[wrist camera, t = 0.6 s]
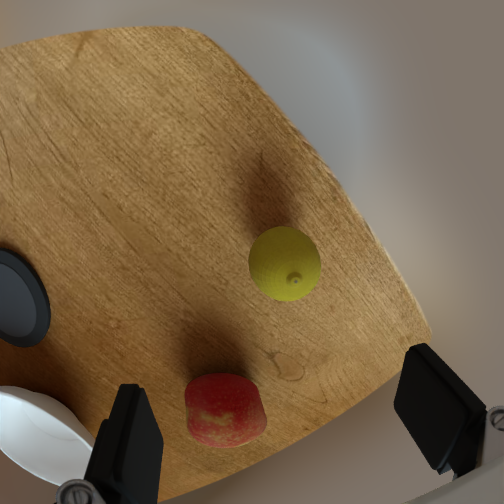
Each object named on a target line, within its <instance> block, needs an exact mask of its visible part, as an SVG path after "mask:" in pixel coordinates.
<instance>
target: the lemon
mask: <svg viewBox="0 0 504 504" xmlns="http://www.w3.org/2000/svg"><path fill="white" fill-rule="evenodd" d="M248 261H249V271H250V273H251V276H252V279H253V281H254V282H255V284H256V285H257V286H258V288H259V289H260V290H261V291H262V292H264V293H265V294H266V295H267V296H269V297H271V298H273V299H276V300H280V301H294V300H297V299H300V298H302V297H304V296H306V295H307V294H308V293H309V292H311V291H312V290H313V288H314V287H315V285H316V284H317V282H318V279H319V277H320V272H321V261H320V255H319V253H318V250H317V248H316V246H315V244H314V243H313V242H312V240H311V239H310V238H309V237H308V236H307V235H306V234H304V233H303V232H301V231H300V230H297V229H295V228H292V227H285V226H280V227H274V228H271V229H269V230H266V231H265V232H263V233H262V234H261V235H259V237H258V238H257V239H256V240H255V242H254V243H253V245H252V247H251V249H250V254H249V260H248Z"/></svg>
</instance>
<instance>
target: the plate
mask: <svg viewBox="0 0 504 504" xmlns="http://www.w3.org/2000/svg"><path fill="white" fill-rule="evenodd" d="M50 318H51V314H50V304H49V300H48V296H47V293H46V290H45V288H44V286H43V284H42V282H41V280H40V278H39V276H38V275H37V273H36V272H35V270H34V269H33V268H32V267H31V265H30V264H29V263H28V262H27V261H26V260H25V259H24V258H22V257H21V256H20V255H18V254H17V253H15V252H13V251H11V250H9V249H6V248H0V338H1V339H3V340H4V341H6V342H8V343H9V344H12V345H14V346H18V347H31V346H34V345H36V344H37V343H39V342H40V341H41V340H42V339H43V338H44V336H45V335H46V333H47V331H48V329H49V325H50Z"/></svg>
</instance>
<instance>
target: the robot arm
mask: <svg viewBox="0 0 504 504" xmlns="http://www.w3.org/2000/svg"><path fill="white" fill-rule="evenodd" d="M394 409H395V411H396V413H397V414H398V416H399V417H400V419H401V420H402V422H403V424H404V425H405V427H406V428H407V430H408V431H409V433H410V434H411V436H412V438H413V439H414V441H415V442H416V444H417V446H418V447H419V449H420V450H421V452H422V454H423V455H424V457H425V458H426V460H427V462H428V463H429V465H430V466H431V468H432V469H434V470H437V472H438V473H439V475H441V474H443V473H445V472H447V471H449V470H451V468H452V470H453V471H454V476H453V480H452V482H450V483H448V484H446V485H443V486H441V487H439V488H437V489H435V490H433V491H431V492H429V493H427V494H424V495H422V496H420V497H417V498H415V499H413V500H410V501H408V502H405V503H403V504H504V406H496V407H493V408H491V409H490V410H489V411H488V412H487V411H486V405H485V404H484V403H483V402H482V401H481V400H480V399H479V398H478V397H477V396H476V395H475V394H474V392H473V391H472V390H471V389H470V388H469V387H468V386H467V385H466V384H465V383H464V382H463V381H462V380H461V379H460V378H459V377H458V376H457V374H456V373H455V372H454V371H453V370H452V369H451V368H450V367H449V366H448V365H447V364H446V363H445V362H444V361H443V360H442V359H441V358H440V357H439V356H438V355H437V354H436V353H435V352H434V351H433V350H432V349H431V348H430V347H429V346H428V345H427V344H426V343H421V344H417V345H414V346H411V347H410V348H409V351H407V352H406V354H405V359H404V363H403V368H402V372H401V376H400V380H399V384H398V388H397V392H396V396H395V399H394ZM163 445H164V443H163V437H162V434H161V432H160V429H159V427H158V424H157V422H156V419H155V417H154V414H153V412H152V409H151V406H150V404H149V401H148V398H147V395H146V392H145V390H144V388H139V385H138V384H121V385H120V387H119V390H118V393H117V396H116V399H115V401H114V404H113V407H112V410H111V413H110V416H109V419H104V420H103V421H102V423H101V426H100V428H99V431H98V434H97V437H96V440H95V443H94V446H93V449H92V453H91V456H90V459H89V462H88V465H87V469H86V472H85V475H84V479H72V480H68V481H66V482H65V483H63V484H62V485H61V486H60V487H59V488H58V490H57V493H56V503H54V504H157V499H158V489H159V480H160V471H161V462H162V454H163Z"/></svg>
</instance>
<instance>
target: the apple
mask: <svg viewBox="0 0 504 504" xmlns="http://www.w3.org/2000/svg"><path fill="white" fill-rule="evenodd" d="M185 404H186V421H187V428H188V431H189V433H190V434H191V435H192V436H193V437H194V438H195V439H196V440H197V441H199V442H201V443H202V444H204V445H208V446H212V447H217V448H233V447H238V446H242V445H245V444H247V443H249V442H251V441H253V440H254V439H256V438H257V437H258V436H259V435H260V434H261V433H262V432H263V431H264V430H265V428H266V425H267V418H266V415H265V412H264V408H263V405H262V402H261V398H260V395H259V391H258V389H257V387H256V385H255V384H254V383H253V382H251V381H250V380H248V379H246V378H244V377H241V376H239V375H235V374H231V373H211V374H205V375H202V376H199V377H197V378H195V379H194V380H192V381H191V382H190V383H189V384H188V385H187V387H186V390H185Z"/></svg>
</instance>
